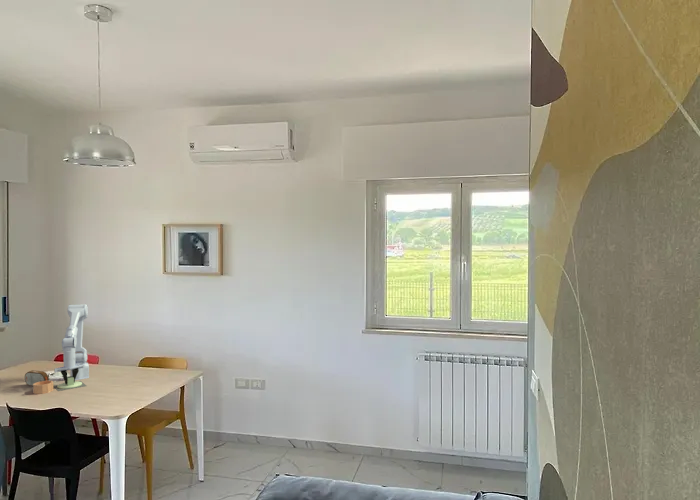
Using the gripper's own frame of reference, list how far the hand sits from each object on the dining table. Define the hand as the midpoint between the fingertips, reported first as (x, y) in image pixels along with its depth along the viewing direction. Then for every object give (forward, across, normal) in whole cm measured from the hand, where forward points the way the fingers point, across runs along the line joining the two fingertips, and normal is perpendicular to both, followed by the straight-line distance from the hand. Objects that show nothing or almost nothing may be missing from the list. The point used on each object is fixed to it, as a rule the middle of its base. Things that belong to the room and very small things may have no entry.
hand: (69, 383), depth 268 cm
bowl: (+2, -13, -2) cm, 13 cm away
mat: (+2, 0, 0) cm, 2 cm away
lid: (+2, 0, 0) cm, 2 cm away
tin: (+2, -14, +15) cm, 20 cm away
